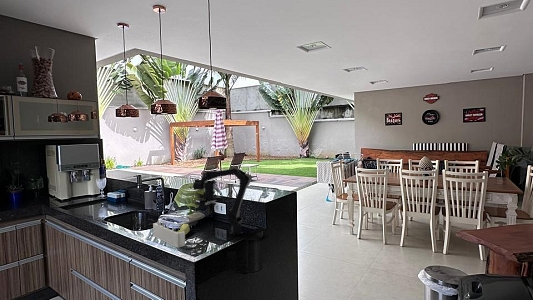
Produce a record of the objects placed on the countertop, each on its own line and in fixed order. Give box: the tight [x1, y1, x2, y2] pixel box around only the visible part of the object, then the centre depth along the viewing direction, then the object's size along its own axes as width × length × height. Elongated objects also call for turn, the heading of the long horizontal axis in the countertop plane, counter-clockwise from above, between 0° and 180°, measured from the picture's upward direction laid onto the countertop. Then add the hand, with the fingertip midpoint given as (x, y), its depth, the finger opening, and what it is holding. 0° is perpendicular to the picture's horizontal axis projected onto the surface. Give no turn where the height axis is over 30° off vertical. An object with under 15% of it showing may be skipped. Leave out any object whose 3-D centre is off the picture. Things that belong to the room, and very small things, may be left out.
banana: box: [177, 223, 191, 236], centre depth 189 cm, size 14×6×20 cm
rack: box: [152, 220, 186, 249], centre depth 176 cm, size 30×5×11 cm, turn 46°
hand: (209, 213), depth 192 cm, fingers closed
